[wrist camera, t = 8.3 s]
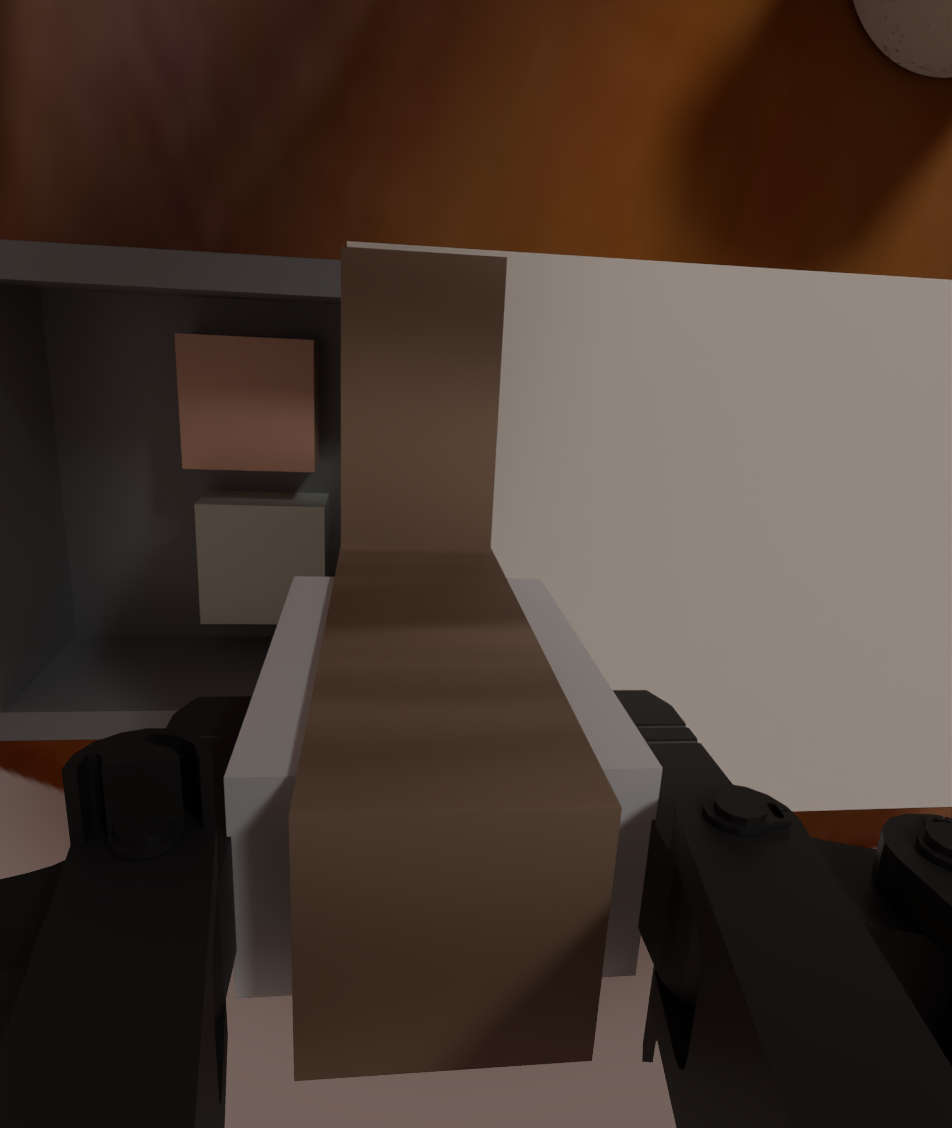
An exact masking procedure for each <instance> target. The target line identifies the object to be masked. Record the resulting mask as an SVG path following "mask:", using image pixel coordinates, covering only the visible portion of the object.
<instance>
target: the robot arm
mask: <svg viewBox="0 0 952 1128" xmlns="http://www.w3.org/2000/svg"><path fill="white" fill-rule="evenodd" d="M334 578H335V577H309V576H294V579H293V582H292V585H291V587H290V590H289V593H288V596H287V599H286V602H285V604H284V607H283V610H282V613H281V616H280V619H279V622H278V624H277V627H276V630H275V633H274V636H273V639H272V642H271V644H270V647H269V650H268V653H267V656H266V659H265V661H264V664H263V667H262V670H261V673H260V676H259V679H258V681H257V684H256V687H255V690H254V693H253V696H223V697H197V698H195V699H194V700H193V701H191V702H190V703H188V704H187V705H186V706H184V707H183V708H181V709H180V710H178V711H177V712H176V713H174V714H173V716H172V718H171V719H170V721H169V723H168V725H167V727H166V728H146V729H140V730H134V731H128V732H122V733H118V734H115V735H112V736H109V737H107V738H104V739H101V740H98V741H95V742H93V743H91V744H90V745H88V746H86V747H85V748H83V749H82V750H80V751H78V752H77V753H75V754H73V756H72V757H71V758H70V759H69V761H68V762H67V763H66V764H65V765H64V767H63V768H62V776H63V785H64V793H65V800H66V810H67V818H68V826H69V835H70V844H71V846H70V849H69V851H68V855H67V857H66V860H65V861H63V862H60V863H58V864H56V865H53V866H50V867H47V868H43V869H40V870H37V871H33V872H30V873H26V874H22V875H17V876H13V877H9V878H4V879H0V1128H224V1125H225V1096H226V1068H227V1040H228V1031H227V1013H226V995H227V990H228V986H229V982H230V977H231V973H232V969H234V987H235V998H252V997H268V996H287V995H292V952H291V907H290V862H289V818H288V817H289V811H290V806H291V801H292V796H293V791H294V785H295V780H296V775H297V770H298V765H299V759H300V754H301V749H302V744H303V739H304V733H305V728H306V723H307V718H308V713H309V707H310V702H311V697H312V692H313V687H314V682H315V676H316V671H317V666H318V661H319V656H320V650H321V645H322V640H323V635H324V630H325V624H326V619H327V614H328V609H329V604H330V598H331V593H332V588H333V583H334ZM506 579H507V581H508V583H509V585H510V587H511V589H512V591H513V593H514V595H515V597H516V598H517V600H518V602H519V604H520V606H521V608H522V610H523V612H524V614H525V616H526V618H527V620H528V622H529V624H530V626H531V628H532V630H533V632H534V634H535V636H536V638H537V640H538V642H539V644H540V646H541V648H542V650H543V652H544V654H545V656H546V658H547V660H548V662H549V664H550V666H551V668H552V670H553V672H554V674H555V676H556V678H557V680H558V682H559V684H560V686H561V688H562V690H563V692H564V694H565V696H566V698H567V700H568V702H569V704H570V706H571V708H572V710H573V712H574V714H575V716H576V718H577V720H578V722H579V724H580V726H581V728H582V730H583V732H584V734H585V736H586V738H587V740H588V741H589V743H590V745H591V747H592V749H593V751H594V753H595V755H596V757H597V759H598V761H599V763H600V765H601V767H602V769H603V771H604V773H605V775H606V777H607V779H608V781H609V783H610V785H611V787H612V789H613V791H614V793H615V795H616V797H617V799H618V801H619V803H620V805H621V807H622V812H621V820H620V828H619V837H618V845H617V854H616V862H615V870H614V879H613V887H612V896H611V904H610V912H609V921H608V929H607V938H606V946H605V954H604V963H603V971H602V977H613V976H631V975H635V973H636V966H637V958H638V951H639V943H640V936H642V938H643V940H644V943H645V945H646V947H647V950H648V952H649V954H650V957H651V959H652V961H653V963H654V969H653V976H652V983H651V990H650V997H649V1005H648V1012H647V1019H646V1026H645V1033H644V1041H643V1061H644V1062H653V1056H654V1048H655V1042H656V1041H658V1045H659V1050H660V1054H661V1059H662V1064H663V1068H664V1073H665V1077H666V1082H667V1086H668V1091H669V1095H670V1100H671V1105H672V1109H673V1113H674V1118H675V1123H676V1127H677V1128H952V818H949V817H946V818H943V816H939V815H932V814H903V815H900V816H896V817H893V818H890V819H889V820H888V821H887V822H886V824H885V825H884V826H883V827H882V830H881V834H880V839H879V843H878V847H877V849H871V848H865V847H859V846H853V845H848V844H842V843H836V842H830V841H825V840H820V839H816V838H812V837H810V835H809V834H808V832H807V831H806V829H805V827H804V826H803V824H802V822H801V821H800V820H799V819H798V818H797V816H796V815H795V814H794V813H793V812H792V811H791V810H790V809H789V808H788V807H787V806H786V805H784V804H782V803H781V802H779V801H777V800H776V799H774V798H772V797H771V796H769V795H767V794H764V793H762V792H759V791H756V790H753V789H750V788H748V787H744V786H738V785H733V784H732V783H731V781H730V780H729V779H728V778H727V776H726V775H725V774H724V772H723V771H722V770H721V768H720V767H719V766H718V765H717V763H716V762H715V761H714V759H713V758H712V757H711V756H710V754H709V753H708V752H707V750H706V749H705V748H704V747H703V745H702V744H701V743H698V741H697V738H696V736H695V735H694V734H693V732H692V731H691V730H690V729H689V727H686V723H685V722H684V721H683V719H682V718H681V717H680V716H679V714H678V713H677V712H676V710H675V709H674V708H673V707H672V705H670V704H668V703H667V702H665V701H664V700H662V699H660V698H659V697H657V696H655V695H654V694H652V693H651V692H649V691H647V690H612V689H611V687H610V685H609V684H608V682H607V681H606V679H605V678H604V676H603V675H602V673H601V671H600V670H599V668H598V667H597V665H596V664H595V662H594V661H593V659H592V657H591V656H590V654H589V653H588V651H587V650H586V648H585V647H584V645H583V644H582V642H581V640H580V639H579V637H578V636H577V634H576V633H575V631H574V630H573V628H572V626H571V625H570V623H569V622H568V620H567V619H566V617H565V616H564V614H563V612H562V611H561V609H560V608H559V606H558V605H557V603H556V602H555V600H554V599H553V597H552V595H551V594H550V592H549V591H548V589H547V588H546V586H545V585H544V583H543V581H542V580H541V579H519V578H506Z"/></svg>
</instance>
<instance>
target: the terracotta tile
mask: <svg viewBox="0 0 952 1128" xmlns="http://www.w3.org/2000/svg"><path fill="white" fill-rule="evenodd" d="M174 334H175V351H176V368H177V385H178V402H179V419H180V436H181V453H182V469H209V470H244V471H280V472H315V471H316V469H317V467H318V464H319V462H320V394H319V339H300V338H280V337H260V336H240V335H220V334H200V333H174Z"/></svg>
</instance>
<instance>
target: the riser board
mask: <svg viewBox="0 0 952 1128" xmlns="http://www.w3.org/2000/svg"><path fill="white" fill-rule="evenodd" d="M347 247H358V248H373V249H388V250H404V251H419V252H434V253H450V254H465V255H480V256H496V257H507V270H506V288H505V305H504V323H503V340H502V358H501V375H500V393H499V410H498V428H497V445H496V463H495V480H494V498H493V515H492V533H491V549H492V551H493V553H494V555H495V557H496V559H497V561H498V563H499V565H500V567H501V569H502V571H503V573H504V575H505V577H506V578H519V579H541V580H542V581H543V583H544V585H545V586H546V588H547V589H548V591H549V592H550V594H551V595H552V597H553V599H554V600H555V602H556V603H557V605H558V606H559V608H560V609H561V611H562V612H563V614H564V616H565V617H566V619H567V620H568V622H569V623H570V625H571V626H572V628H573V630H574V631H575V633H576V634H577V636H578V637H579V639H580V640H581V642H582V644H583V645H584V647H585V648H586V650H587V651H588V653H589V654H590V656H591V657H592V659H593V661H594V662H595V664H596V665H597V667H598V668H599V670H600V671H601V673H602V675H603V676H604V678H605V679H606V681H607V682H608V684H609V685H610V687H611V689H612V690H647V691H649V692H651V693H652V694H654V695H655V696H657V697H659V698H660V699H662V700H664V701H665V702H667V703H668V704H670V705H672V707H673V708H674V709H675V710H676V712H677V713H678V714H679V716H680V717H681V718H682V719H683V721H684V722H685V723H686V727H689V729H690V730H691V731H692V732H693V734H694V735H695V736H696V738H697V741H698V743H701V744H702V745H703V747H704V748H705V749H706V750H707V752H708V753H709V754H710V756H711V757H712V758H713V759H714V761H715V762H716V763H717V765H718V766H719V767H720V768H721V770H722V771H723V772H724V774H725V775H726V776H727V778H728V779H729V780H730V781H731V783H732V784H733V785H738V786H744V787H748V788H750V789H753V790H756V791H759V792H762V793H764V794H767V795H769V796H771V797H772V798H774V799H776V800H777V801H779V802H781V803H782V804H784V805H786V806H787V807H788V808H789V809H790V810H791V811H824V810H857V809H889V808H922V807H952V280H945V279H929V278H913V277H898V276H882V275H867V274H851V273H835V272H820V271H804V270H789V269H773V268H758V267H742V266H726V265H711V264H695V263H680V262H664V261H648V260H633V259H617V258H602V257H586V256H570V255H555V254H539V253H524V252H508V251H492V250H477V249H461V248H446V247H430V246H415V245H399V244H383V243H368V242H352V241H347Z"/></svg>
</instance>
